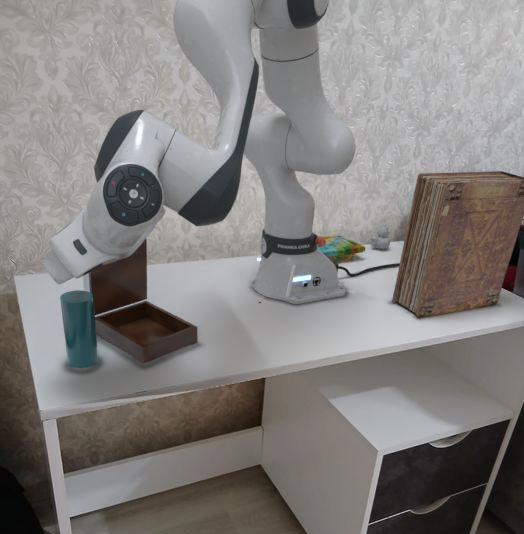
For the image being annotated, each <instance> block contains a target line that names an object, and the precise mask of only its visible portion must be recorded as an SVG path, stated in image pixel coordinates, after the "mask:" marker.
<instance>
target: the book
mask: <svg viewBox="0 0 524 534" xmlns="http://www.w3.org/2000/svg"><path fill="white" fill-rule="evenodd" d="M523 219H524V176H520V175H517V174H513V173H510V172H505V171H503V170H500V171H499V170H497V171H495V170H494V171H460V172H459V171H458V172H453V171H452V172H421V173H418V174H417V178H416V183H415V187H414V192H413V196H412V201H411V208H410V212H409V217H408V222H407V225H406V226H407V227H406V231H405V236H404V242H403V246H402V249H401V250H402V251H401V256H400V261H399V263H400V265H399V266H398V271H397V275H396V280H395V285H394V290H393V294H392V299H391V302H392V303H393V304H397V303H398V304H400V305H402V306H403V307H405V308H406V309H408V310H409V311H411V312H413V313H414V314H416V318H418V319H422V318H428V317H433V316H439V315H445V314H449V313H456V312H460V311H467V310H472V309H479V308H483V307H489V306H495V305H497V304H498V302H499V299H500V295H501V293H502V289H503V285H504V282H505V280H506V275H507V272H508V270H509V265H510V262H511V259H512V256H513V253H514V249H515V246H516V242H517V239H518V235H519V232H520V229H521V226H522V221H523Z"/></svg>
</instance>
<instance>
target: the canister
mask: <svg viewBox="0 0 524 534" xmlns="http://www.w3.org/2000/svg"><path fill="white" fill-rule="evenodd" d="M59 299H60V307H61V308H60V309H61V316H62V317H61V319H62V325H63V335H64V342H65V351H66V361H67V364H68V365H69V366H70V367H72V368H75V369H87V368H91V367H93V366H95V365H96V364H98V362H99V348H98V337H97V336H98V335H97V334H96V323H95V317H96V315H95V311H94V299H93V294H92V293H90V292H88V291H84V290H81V289H80V290H79V289H77V290H70V291H65V292H63V293H61V295H60V297H59Z"/></svg>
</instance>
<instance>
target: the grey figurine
mask: <svg viewBox="0 0 524 534" xmlns="http://www.w3.org/2000/svg"><path fill="white" fill-rule="evenodd" d="M389 234H390V231H389V228H388V227H387V223H385V224H382V225H381V226H380V227H379V228H378V230H377V235H375V236H371V237H370V240H371V241H370V242H371V243H370V245H371V246H373V247H375V248H377V249H379V250H386V249H388V248H389V247H390V245H391V239H390V237H389V236H390V235H389Z"/></svg>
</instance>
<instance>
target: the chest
mask: <svg viewBox="0 0 524 534" xmlns="http://www.w3.org/2000/svg"><path fill="white" fill-rule="evenodd" d="M95 323H96V335H97V336H98V337H100V338H102V339H103V340H105V341H106V342H108V343H109V344H111V345H113V346H114V347H116V348H118V350H119V349H120V350H121V351H122V352H124V353H126V354H127V355H129V356H131V357H132V358H134V359H135V360H137V361H139V362H141V363H142V364H147V363H149V362H151V361H154V360H157V359H159V358H161V357H164V356H167V355H169V354H171V353H174V352H177V351H179V350H181V349H183V348H186V347H189V346H191V345H193V344H196V343H198V326H197V325H195V324H193V323H191V322H188V321H187V320H185V319H183V318H181V317H179V316H178V315H175V314H174V313H171V312H169V311H167V310H166V309H164V308H161V307H160V306H157V305H156V304H154V303H151V302H150V301H148V300H143V301H140V302H136V303H133V304H130V305H127V306H124V307H121V308H118V309H114V310H111V311H108V312H105V313H102V314H99V315H96V316H95Z"/></svg>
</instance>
